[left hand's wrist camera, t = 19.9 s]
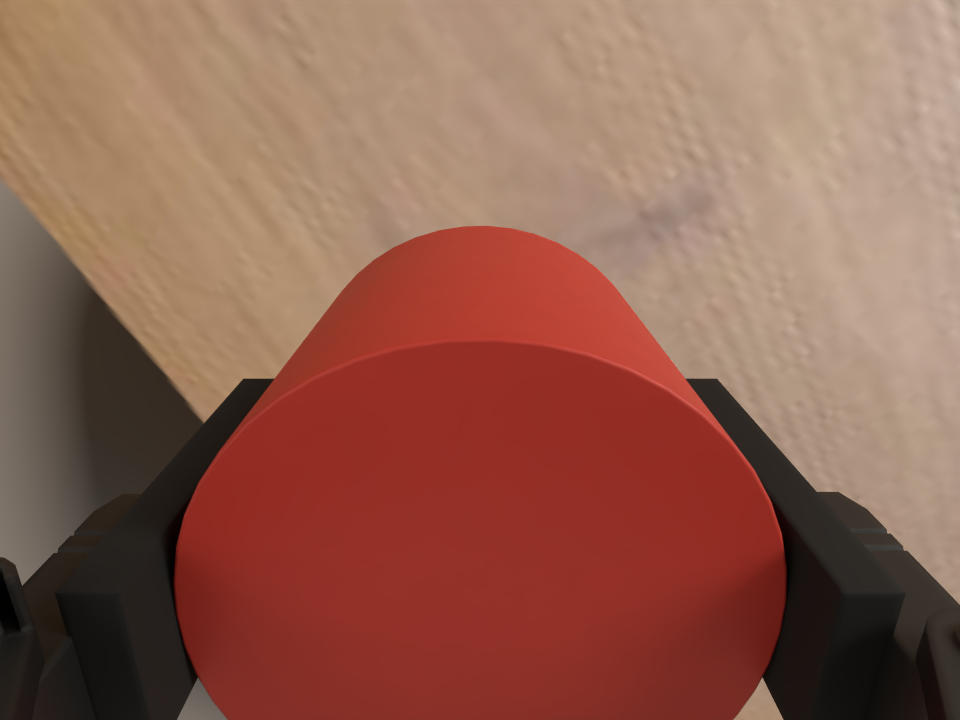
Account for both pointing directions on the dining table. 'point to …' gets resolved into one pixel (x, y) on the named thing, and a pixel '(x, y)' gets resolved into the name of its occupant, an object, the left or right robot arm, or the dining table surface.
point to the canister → (480, 511)
